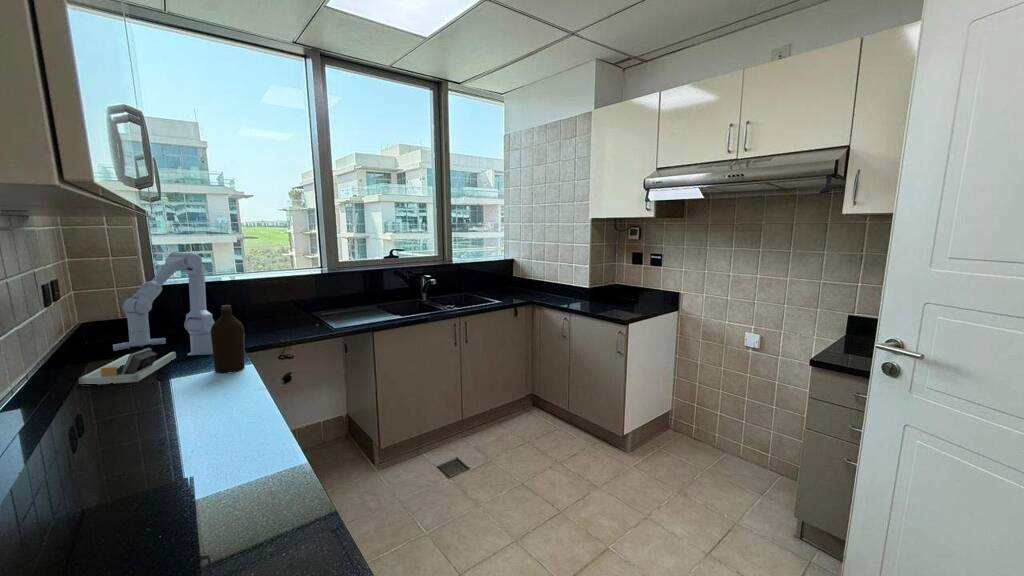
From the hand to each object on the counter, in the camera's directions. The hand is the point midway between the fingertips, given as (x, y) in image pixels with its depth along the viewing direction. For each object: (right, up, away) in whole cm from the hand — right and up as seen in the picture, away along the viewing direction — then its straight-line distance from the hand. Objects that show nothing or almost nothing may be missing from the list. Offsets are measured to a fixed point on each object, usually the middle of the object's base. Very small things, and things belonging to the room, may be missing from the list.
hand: (142, 365), depth 156 cm
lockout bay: (-4, -2, 0) cm, 4 cm away
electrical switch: (+3, -3, -4) cm, 6 cm away
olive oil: (+30, -3, +4) cm, 31 cm away
